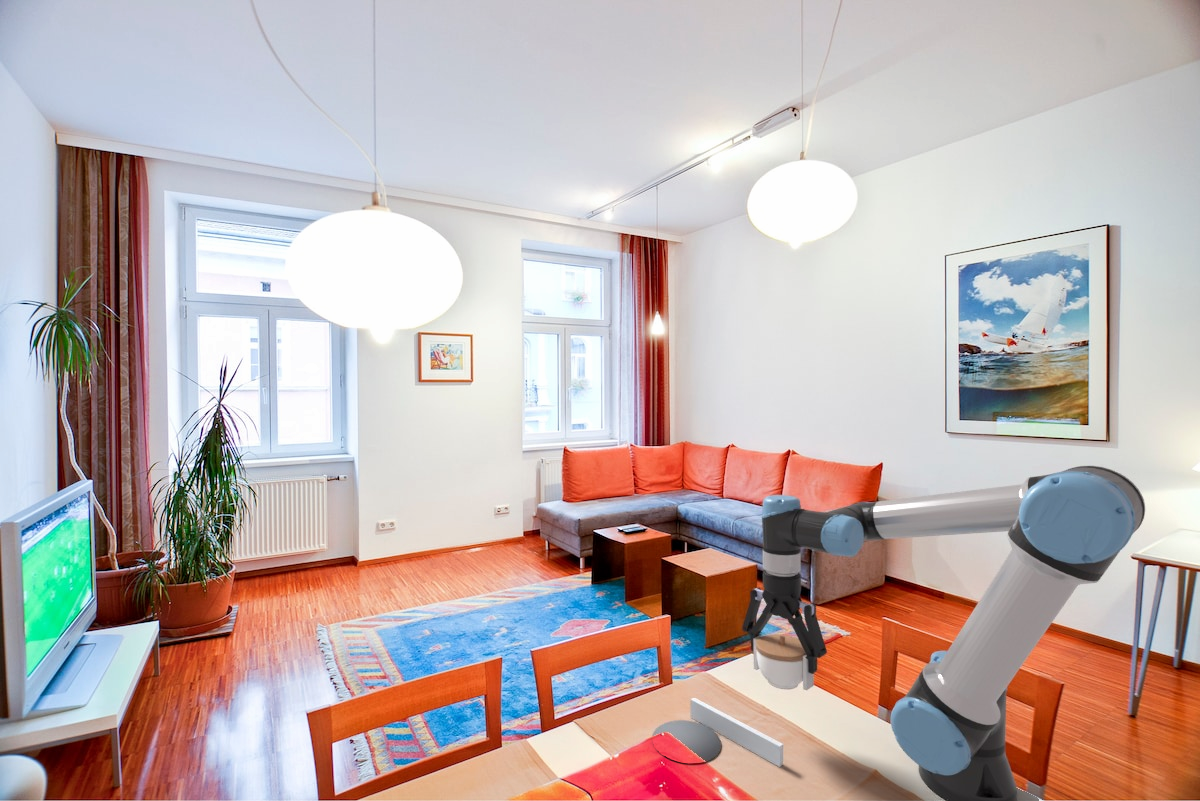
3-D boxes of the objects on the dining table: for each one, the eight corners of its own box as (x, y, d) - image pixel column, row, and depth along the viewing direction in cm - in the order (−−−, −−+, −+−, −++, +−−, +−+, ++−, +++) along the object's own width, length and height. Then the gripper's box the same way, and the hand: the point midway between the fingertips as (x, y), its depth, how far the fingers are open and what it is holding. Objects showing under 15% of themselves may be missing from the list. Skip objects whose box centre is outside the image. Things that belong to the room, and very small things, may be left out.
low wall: (783, 764, 110) (783, 744, 110) (779, 767, 109) (779, 746, 109) (693, 715, 126) (694, 697, 126) (690, 717, 125) (690, 699, 125)
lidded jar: (802, 670, 122) (802, 627, 122) (816, 696, 112) (816, 649, 112) (752, 668, 124) (751, 625, 123) (761, 694, 113) (760, 647, 113)
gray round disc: (734, 743, 116) (734, 742, 116) (690, 774, 107) (690, 772, 107) (682, 714, 127) (682, 712, 127) (637, 739, 117) (637, 738, 117)
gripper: (845, 580, 111) (846, 692, 111) (744, 556, 129) (745, 652, 129) (826, 589, 106) (827, 706, 106) (724, 562, 124) (725, 663, 124)
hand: (782, 677), depth 118 cm, fingers closed on lidded jar, 11 cm apart
